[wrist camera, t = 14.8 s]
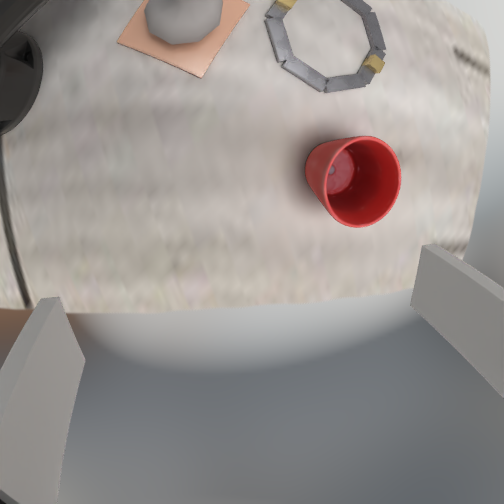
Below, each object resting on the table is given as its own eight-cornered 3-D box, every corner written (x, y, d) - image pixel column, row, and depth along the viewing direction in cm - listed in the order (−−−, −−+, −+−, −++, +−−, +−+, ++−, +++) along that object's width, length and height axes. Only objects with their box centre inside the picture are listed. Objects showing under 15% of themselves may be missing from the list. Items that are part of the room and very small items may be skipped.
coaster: (117, 43, 29) (116, 41, 28) (168, -29, 26) (168, -31, 25) (201, 78, 33) (201, 77, 33) (248, 6, 30) (250, 4, 29)
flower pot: (277, 163, 40) (305, 177, 31) (337, 116, 39) (377, 118, 30) (319, 219, 45) (352, 245, 36) (372, 174, 44) (413, 190, 35)
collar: (244, 46, 33) (248, 42, 31) (304, -36, 28) (310, -41, 26) (349, 113, 39) (357, 113, 37) (394, 31, 34) (402, 29, 33)
